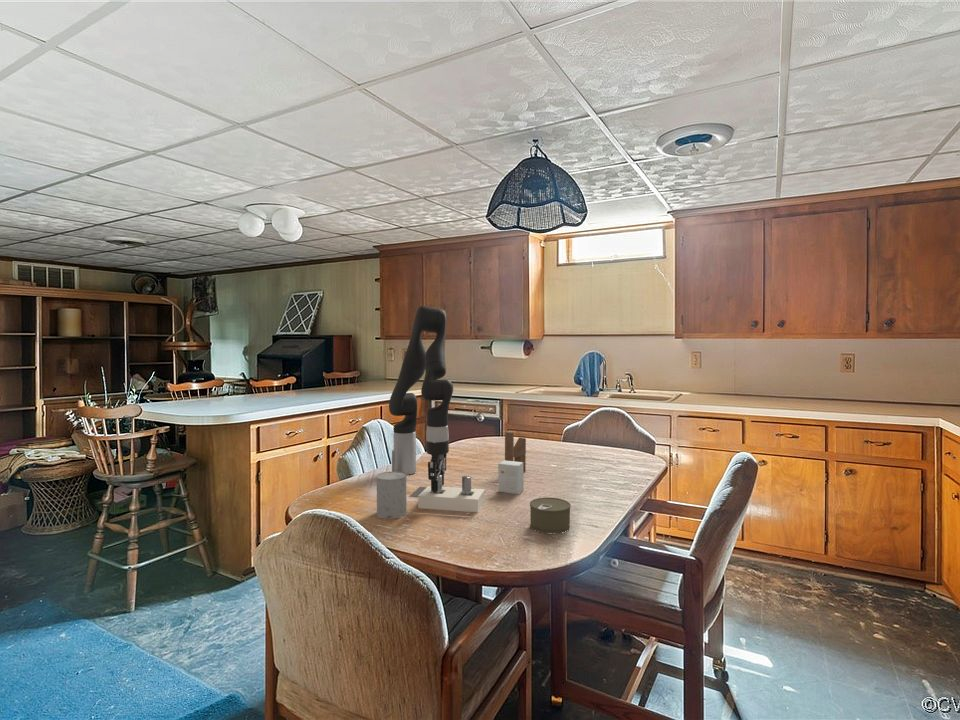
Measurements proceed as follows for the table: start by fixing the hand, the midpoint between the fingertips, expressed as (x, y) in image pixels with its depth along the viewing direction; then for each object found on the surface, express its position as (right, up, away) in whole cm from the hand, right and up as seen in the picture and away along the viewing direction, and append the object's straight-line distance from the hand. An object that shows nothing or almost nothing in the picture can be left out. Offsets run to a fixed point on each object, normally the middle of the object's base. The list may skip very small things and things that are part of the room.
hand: (437, 487), depth 166 cm
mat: (-3, -5, +12) cm, 13 cm away
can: (+35, -7, -19) cm, 40 cm away
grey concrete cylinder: (-14, -6, -8) cm, 17 cm away
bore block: (+5, -6, -1) cm, 8 cm away
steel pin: (0, -6, 0) cm, 6 cm away
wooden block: (+28, -4, +39) cm, 49 cm away
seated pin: (+10, -6, -2) cm, 12 cm away
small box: (+26, -5, +15) cm, 30 cm away
